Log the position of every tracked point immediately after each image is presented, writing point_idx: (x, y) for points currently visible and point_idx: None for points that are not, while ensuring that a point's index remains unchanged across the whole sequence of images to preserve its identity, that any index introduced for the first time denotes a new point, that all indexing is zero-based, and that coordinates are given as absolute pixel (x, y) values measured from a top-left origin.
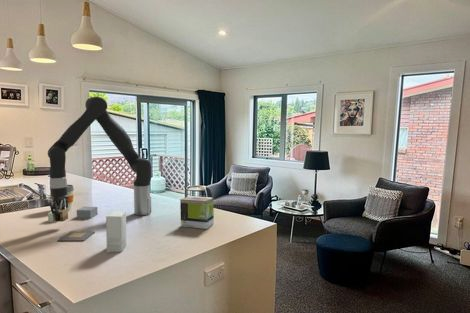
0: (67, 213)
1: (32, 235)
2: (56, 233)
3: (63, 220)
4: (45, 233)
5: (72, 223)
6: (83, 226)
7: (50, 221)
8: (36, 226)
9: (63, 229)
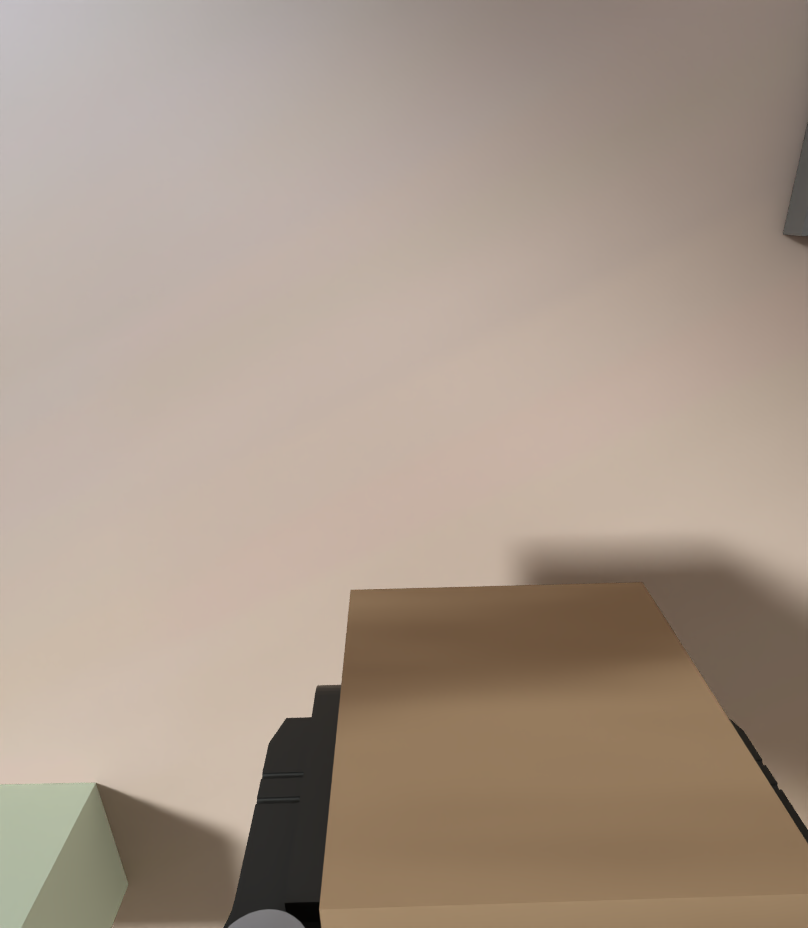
0: (373, 720)
1: (783, 780)
2: (768, 502)
3: (636, 597)
4: (723, 670)
5: (118, 517)
6: (301, 135)
7: (117, 872)
8: None
9: (524, 497)
